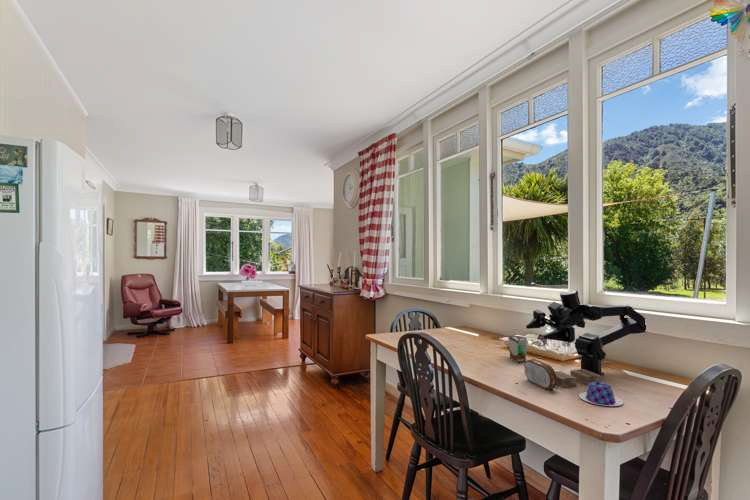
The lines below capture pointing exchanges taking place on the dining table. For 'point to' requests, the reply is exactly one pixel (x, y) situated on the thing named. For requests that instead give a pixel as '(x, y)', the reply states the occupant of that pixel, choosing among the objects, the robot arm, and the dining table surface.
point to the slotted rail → (576, 378)
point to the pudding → (600, 395)
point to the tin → (540, 374)
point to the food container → (518, 348)
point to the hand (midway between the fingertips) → (534, 332)
